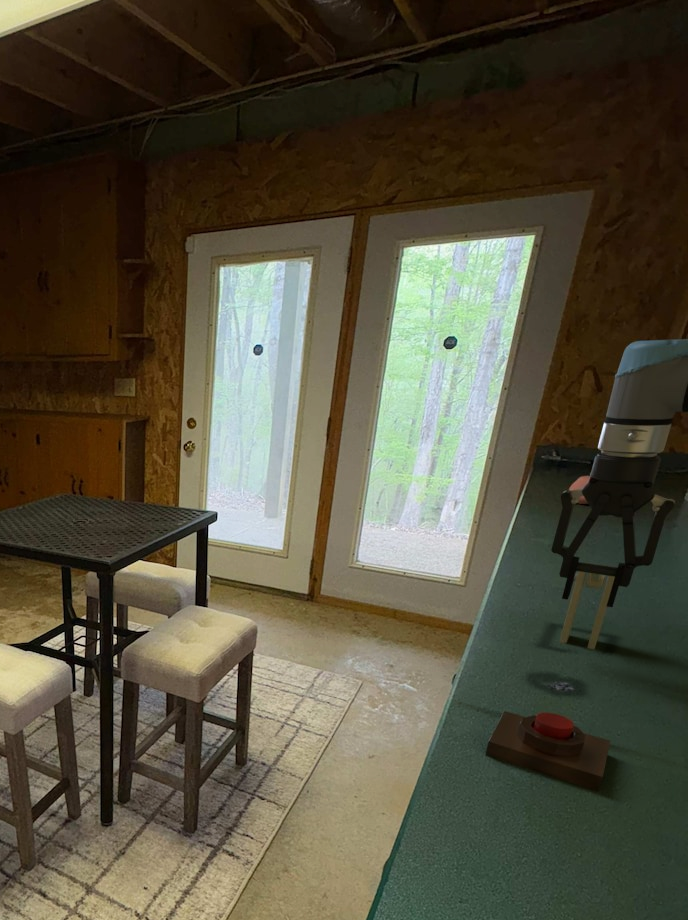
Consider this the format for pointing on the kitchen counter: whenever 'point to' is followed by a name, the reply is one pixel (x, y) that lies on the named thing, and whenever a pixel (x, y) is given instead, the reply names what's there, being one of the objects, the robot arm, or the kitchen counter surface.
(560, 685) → the blueberries
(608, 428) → the robot arm
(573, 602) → the light wood frame
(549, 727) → the button
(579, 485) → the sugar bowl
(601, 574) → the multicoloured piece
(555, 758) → the brown button housing
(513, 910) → the kitchen counter surface
